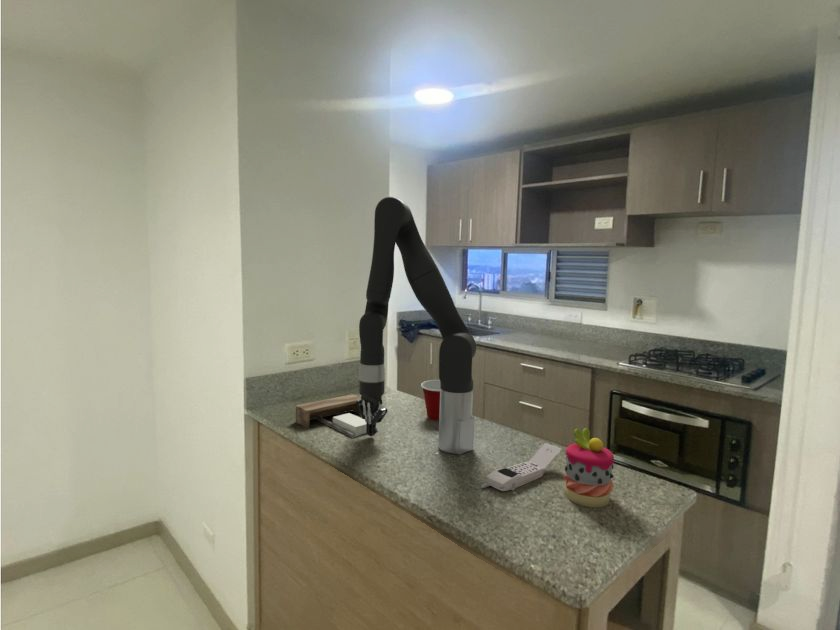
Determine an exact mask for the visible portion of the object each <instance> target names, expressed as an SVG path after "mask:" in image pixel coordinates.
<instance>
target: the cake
mask: <svg viewBox="0 0 840 630" xmlns="http://www.w3.org/2000/svg"><path fill="white" fill-rule="evenodd" d="M573 434H574V437H575V438H576V439H574V443H572V444H569V445H567V447H566V449H565V457H566V462H565V464H566V465H565V467H564V470H565V474H564V475H562V478H564V480H565V483H564V496H565V497H566V499H568V500H569V501H570V502H572V503H575V504H577V505H579V506H583V507H586V508H587V507H588V508H603V507H605V506H608V505H609V503H610V501H611V500H610V498H611V497H610V496H611V492H612V490H613V489H614V483H613V482H614V481H613V480H612V479H613V478H614V475H613V469H614V463H615V462H614V461H615V459H614V458H615V456H614V454H613V452H612V451H611V450H610V449H608V448H606V447H604V442H603V441H602V440H601V439H600V438H598V437H593V438H590V435H591V432H590V429H589V428H587V427H585V428H583V430H582V431H581V430H580V429H579V428H576V429H574V430H573Z"/></svg>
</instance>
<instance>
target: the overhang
mask: <svg viewBox="0 0 840 630" xmlns="http://www.w3.org/2000/svg"><path fill="white" fill-rule="evenodd" d="M360 399H361V396H358V395H356V394H353V393H352V394H347V395H342V396H337V397H332V398H326V399H321V400H317V401H312V402H311V401H310V402H306V403H300V404H296V405H295V422H296V423H297V424H299V425H300V426H303V427H304V428H306V429H307V428H310V420H317V422H318V421H319V422H320V423H322V424H325V425H326V426H328V427H331V428H332V429H334V430H336V431H338V432H340V433H342V434H344V435H346V436H348V437H350V438H352V439H354V438H355V437H356V436H355V434H353V433H351V432H349V431H347V430H345V429H343V428H341V427H339V426H337V425H335V424H333V422H331V421H329V420H327V419H325V418H326V417H330V416H333V414H334V415H338V414H339V415H343V414H346V412H345V411H347V412H350V410H353V411H352V412H354V411H355V412H354V413H356V412H357V414H358V415H360V412H359V409H358V407H357V404H356V401H359V400H360ZM329 415H330V416H329ZM339 415H338V416H339ZM324 417H325V418H324ZM377 432H378V427H376V433H377Z"/></svg>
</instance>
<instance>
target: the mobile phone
mask: <svg viewBox="0 0 840 630" xmlns="http://www.w3.org/2000/svg"><path fill="white" fill-rule="evenodd" d="M562 450H563V448H560V447H559V446H556V445H553V444H551V443H546V442H542V443H541V444H540V445H539V446H538V448H537V449H536V450H535V452H534V453H533V454H532V456H530V458H529V459H528V460H527V461H526V460H525V461H524V462H521V463H517V464H514V465H510V466H508V467H503V468H499V469H498V470H495V471H493V472H491V473H489V474H487V476H486V481H485V483H483V484H481V485H480V488H481V489H485V488H488V487H490V486H491V487H492V488H495V489H496V490H499V491H501V492H507V491H514V490H516V489H517V488H519V487H522V486H524V485H526V484H528V483H530V482H531V483H532V482H533V481H536V480H538V479H540V478H542V477H543V475H544V472H545V470H546V469H548V467H549V465H550V464H552V462H553V461H554V460H555V459H556V457H557V456H558V455H559V454H560V453H561V451H562Z"/></svg>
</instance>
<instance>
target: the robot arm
mask: <svg viewBox="0 0 840 630" xmlns="http://www.w3.org/2000/svg"><path fill="white" fill-rule="evenodd" d="M373 222H374V223H373V225H374V226H373V227H374V229H373V231H374V232H373V247H372V248H373V249H372V258H371V265H370V271H369V277H368V280H367V281H368V282H367V287H366V293H365V298H366V305H365V309H364V313H363V315H362V316H361V318H360V319H359V324H358V331H359V332H358V334H359V342H360V352H359V353H360V358H359V359H360V360H359V373H358V374H359V375H358V378H359V379H358V394H359V395H360V397H361V399H360V400H359V401H356V404H357V407H358V409H359V412H360V414H359V415H360V418H362V419H365V422H366V427H367V428H366V432H367V433H366V435H367V436H369V437H372V436H375V435H376V433H377V432H376V428H377V424H379V423H381V422H382V421H383V419H384V418H385V416H386V414H387V413H388V412H389V411H388V408H387V407H384V406H383V399H382V397H383V396H384V394H385V388H386V386H385V384H386V383H385V382H386V381H385V380H386V369H385V347H384V344H383V343H384V329H385V327H386V325H387V323H388V322H387V321H388V315H389V314H388V313H389V302H390V299H391V294H392V289H393V283H394V276H395V250H396V249H395V248H396V246H397V247H398V250H399V252H400V255H401V260H402V264H403V268H404V273H405V276H406V278H407V281H408V283H409V285H410V288H411V289H412V292H413V294H414V296H415V299H417V300H418V303H420V305H421V306H422V308H423V309H424V310H425V311H426V312H427V313H428V314H429V316H430V317H431V318H432V320H433V321H434V323H435V325H436V326H437V328H438V330H439V333H440V335H441V338H442V340H441V343H440V345H439V352H438V380H440V412H439V420H438V423H439V424H438V446H437V448H439V450H441V451H442V452H445V453H450V454H456V455H462V454H464V453H467V452H470V451H473V450H474V443H475V442H474V439H475V420H476V419H475V417H474V416H473V399H474V397H473V395H474V380H473V376H472V375H473V374H472V373H473V358H474V357H475V355H476V353H477V352H476V351H477V343H476V341H475V338H474V336H473V334H472V333H471V332H470V330H469V328H468V327H467V325H466V324H465V322H464V320H463V319H462V317H461V315H460V314H459V312H458V309H457V308H456V305H455V303H454V300H453V298H452V295H451V293H450V291H449V289H448V287H447V284H446V282H445V279H444V278H443V276H442V274H441V272H440V269H439V268H438V265H437V264H436V262H435V260H434V258H433V257H432V254H431V253H430V251H429V249H428V247H427V246H426V244H425V243H424V241H423V240H422V237H421V235H420V232H419V230H418V227H417V224H416V221H415V219H414V216H413V213H412V210H411V208H410V207H409V206H408V204H406V202H404V201H402V200H401V199H399V198H398V197H394V196H388V197H387V196H386V197H384V198H382V199H380V200H379V202H378V203H377V205H376V206H375V210H374V221H373Z"/></svg>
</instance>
